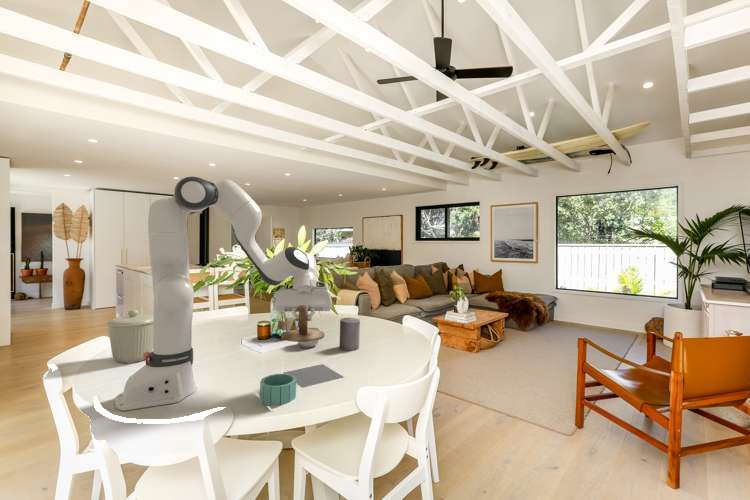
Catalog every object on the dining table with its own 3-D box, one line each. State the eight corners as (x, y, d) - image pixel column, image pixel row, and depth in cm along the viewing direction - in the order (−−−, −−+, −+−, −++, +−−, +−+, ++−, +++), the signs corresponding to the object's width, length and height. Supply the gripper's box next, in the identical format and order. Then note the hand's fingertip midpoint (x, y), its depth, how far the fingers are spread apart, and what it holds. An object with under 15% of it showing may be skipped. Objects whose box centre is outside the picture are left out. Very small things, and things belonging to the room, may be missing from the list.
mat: (302, 388, 121) (302, 387, 121) (283, 373, 135) (283, 372, 135) (344, 378, 132) (344, 377, 132) (322, 365, 145) (322, 364, 145)
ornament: (299, 339, 183) (299, 311, 182) (269, 341, 180) (269, 311, 179) (299, 332, 197) (299, 305, 197) (271, 333, 194) (271, 306, 194)
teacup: (314, 349, 166) (314, 333, 166) (293, 348, 168) (293, 331, 168) (324, 341, 180) (324, 326, 180) (304, 340, 182) (304, 324, 182)
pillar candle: (335, 346, 171) (336, 316, 171) (352, 343, 177) (352, 314, 177) (346, 352, 164) (347, 320, 163) (363, 348, 170) (364, 317, 169)
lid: (286, 343, 114) (287, 310, 114) (276, 333, 127) (277, 303, 127) (330, 339, 121) (331, 307, 121) (316, 329, 134) (317, 301, 134)
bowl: (267, 409, 106) (267, 389, 106) (255, 396, 115) (255, 378, 115) (301, 400, 113) (301, 381, 113) (287, 388, 122) (287, 371, 121)
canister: (152, 364, 143) (152, 312, 143) (98, 369, 137) (98, 314, 136) (162, 351, 160) (162, 305, 160) (115, 354, 154) (115, 306, 153)
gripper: (275, 283, 129) (271, 315, 120) (331, 283, 132) (332, 314, 123) (276, 294, 134) (273, 325, 124) (331, 294, 137) (331, 324, 127)
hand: (303, 320), depth 123 cm, fingers closed on lid, 3 cm apart
